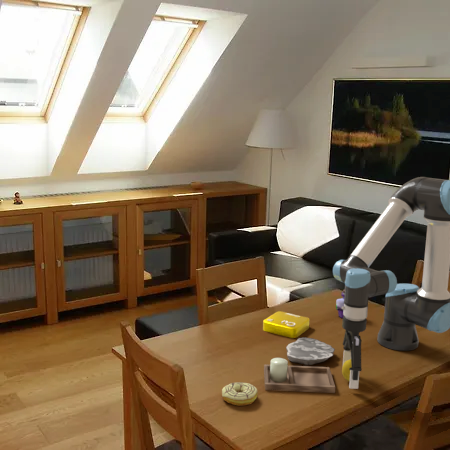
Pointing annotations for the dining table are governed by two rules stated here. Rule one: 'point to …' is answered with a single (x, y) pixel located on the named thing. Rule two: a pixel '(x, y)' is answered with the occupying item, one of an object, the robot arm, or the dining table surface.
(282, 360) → the white capsule pill
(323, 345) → the brain slice
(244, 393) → the decorated donut
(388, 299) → the robot arm
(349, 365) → the lemon
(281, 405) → the dining table surface
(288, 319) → the element tile
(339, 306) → the potion bottle
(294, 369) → the organizer
